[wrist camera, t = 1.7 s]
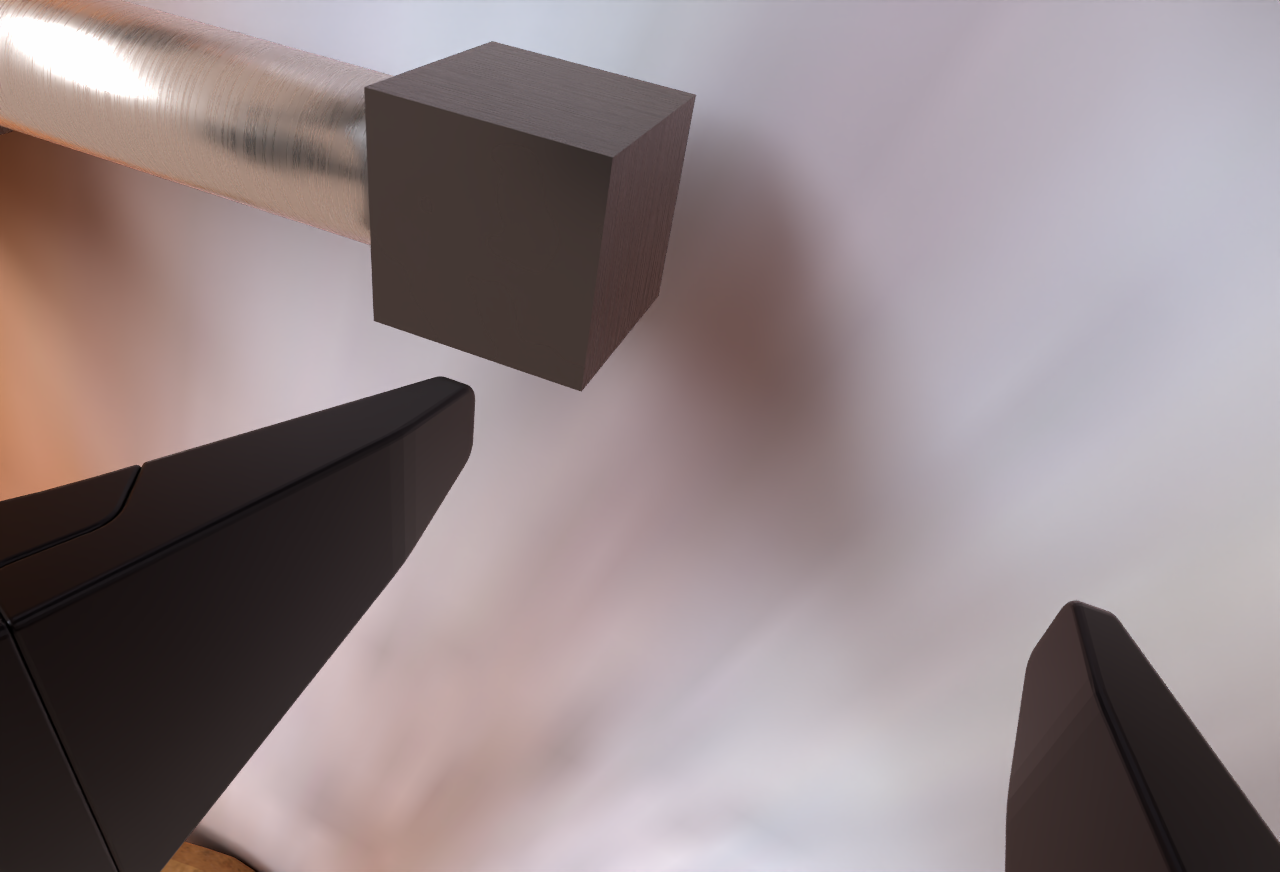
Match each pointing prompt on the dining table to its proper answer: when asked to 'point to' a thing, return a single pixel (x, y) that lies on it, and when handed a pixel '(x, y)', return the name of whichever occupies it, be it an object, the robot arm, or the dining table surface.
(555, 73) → the shaft
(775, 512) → the dining table surface
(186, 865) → the potato
